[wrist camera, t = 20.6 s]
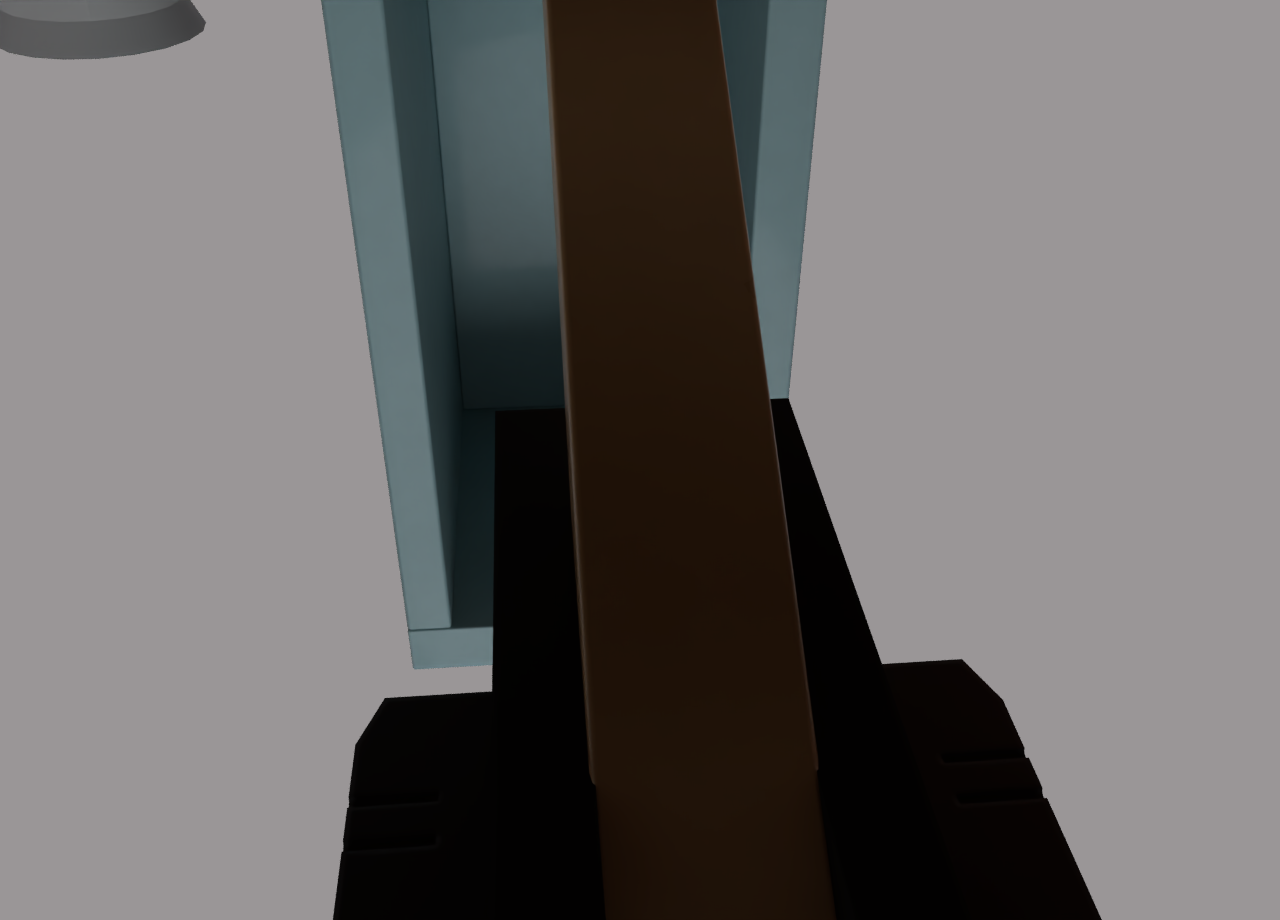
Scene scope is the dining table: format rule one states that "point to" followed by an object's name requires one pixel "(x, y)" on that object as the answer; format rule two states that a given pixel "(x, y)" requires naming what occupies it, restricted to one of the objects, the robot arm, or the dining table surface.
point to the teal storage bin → (511, 252)
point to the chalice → (95, 27)
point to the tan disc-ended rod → (676, 481)
